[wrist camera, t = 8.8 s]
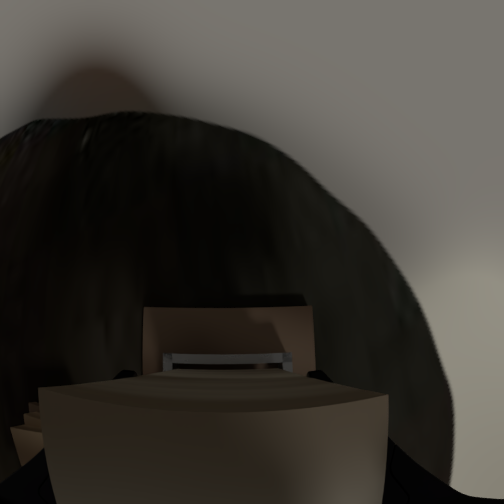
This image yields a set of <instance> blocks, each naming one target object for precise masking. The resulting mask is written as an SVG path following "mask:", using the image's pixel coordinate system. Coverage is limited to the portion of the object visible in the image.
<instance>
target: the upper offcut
mask: <svg viewBox="0 0 504 504" xmlns="http://www.w3.org/2000/svg"><path fill="white" fill-rule="evenodd" d="M10 429H11V432H12V436H13V440H14V443H15V447H16V450H17V453H18V456H19V460H20V463H21V465H22V466H23V465H25V464H26V463H27V462H28V461H29V460H31V459H32V458H33V457H34V456H35V455H36V454H37V453H38V452H40V451H41V450H42V449H43V448H44V443H43V436H42V429H41V427H35V426H29V425H20V426H15V427H10Z"/></svg>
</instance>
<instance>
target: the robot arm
mask: <svg viewBox="0 0 504 504" xmlns="http://www.w3.org/2000/svg"><path fill="white" fill-rule="evenodd" d="M130 377H137V373H136V372H135V371H130V370H122V371H121V372H120V373H119V374H118V375H117V376H116V377H115V378H114V379H113V380H116V379H123V378H130ZM306 377H309V378H315V379H318V380H322V381H327V382H331V383H334V382H333V381H332V380H331V379H330V378H329V377H328V376H327V375H326V374H325V373H324V372H323V371H321V370H315V371H309V372H308V373H307V375H306ZM0 504H57V503H56V499H55V495H54V492H53V488H52V484H51V480H50V475H49V471H48V466H47V461H46V455H45V449H44V448H43V449H42V450H41V451H40V452H38V453H37V454H36V455H35V456H34V457H33V458H32V459H31V460H29V461H28V462H27V463H26V464H25V465H23V466H22V467H21V468H19V469H18V470H17V471H16V472H14V473H13V474H12V475H10V476H9V477H8V478H6V479H5V480H4V481H2V482H1V483H0ZM382 504H504V499H491V498H480V497H472V496H468V495H465V494H462V493H460V492H458V491H456V490H455V489H453V488H452V487H450V486H449V485H447V484H446V483H444V482H443V481H441V480H440V479H438V478H437V477H435V476H434V475H432V474H431V473H430V472H428V471H427V470H426V469H424V468H423V467H422V466H420V465H419V464H418V463H416V462H415V461H414V460H413V459H412V458H411V457H409V456H408V455H407V454H406V453H405V452H404V451H403V450H402V449H401V448H400V447H399V446H398V445H395V443H394V442H393V441H392V440H391V439H390V438H389V437H388V442H387V459H386V471H385V482H384V491H383V498H382Z"/></svg>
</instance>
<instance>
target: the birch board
mask: <svg viewBox="0 0 504 504" xmlns="http://www.w3.org/2000/svg"><path fill="white" fill-rule="evenodd" d="M38 396H39V410H40V420H41V429H42V436H43V443H44V449H45V455H46V461H47V466H48V471H49V475H50V480H51V484H52V488H53V492H54V495H55V499H56V503H57V504H382V498H383V491H384V482H385V471H386V459H387V442H388V394H382V393H377V392H372V391H367V390H362V389H357V388H353V387H348V386H344V385H339V384H335V383H331V382H327V381H322V380H318V379H315V378H309V377H306V376H303V375H299V374H296V373H292V372H289V371H285V370H282V369H278V368H275V369H251V370H193V369H174V370H169V371H164V372H158V373H153V374H147V375H142V376H137V377H130V378H123V379H116V380H109V381H102V382H94V383H86V384H77V385H66V386H55V387H41V388H38Z"/></svg>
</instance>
